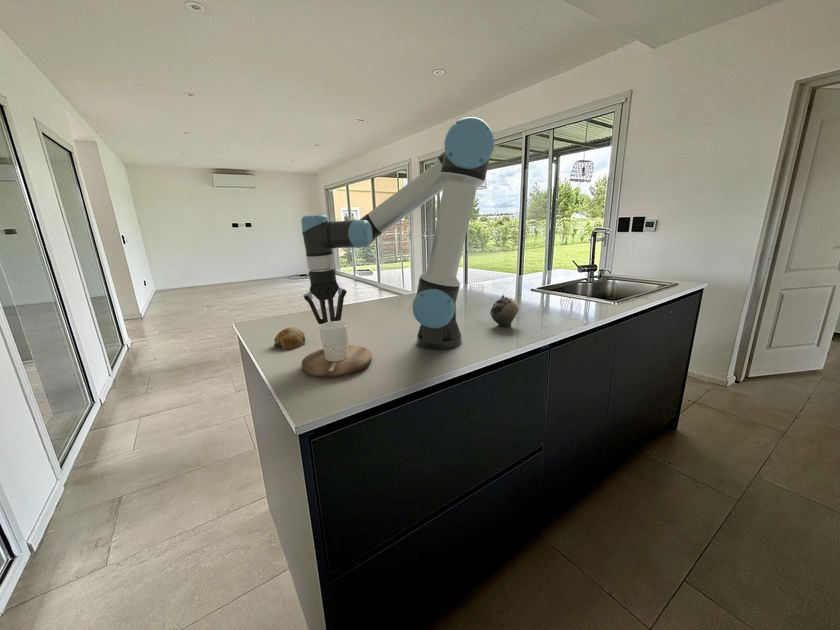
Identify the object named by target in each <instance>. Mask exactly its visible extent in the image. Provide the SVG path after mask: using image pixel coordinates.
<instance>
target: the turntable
mask: <svg viewBox="0 0 840 630" xmlns="http://www.w3.org/2000/svg"><path fill="white" fill-rule="evenodd" d="M348 345H349V344H348ZM348 352H349V356H348V357H347V358H346V359H344V360H341V361H333V362H332V361H327V360H326V359H325V353H324V350H323V348H320V349H318V350H315V351H313V352H311V353H309V354H307V355H306V356H304V358H302V360H301V367H302V371H304V372H305V373H306V374H308V375H311V376H314V377H315V376H316V377H337V376H344V375H347V374H348V375H349V374H352V373H355V372H358V371H359V370H362V369H364V368H365V367H367V366H368V365H369V364H370V363H371V362H372V360H373V357H372V351H371V350H370V349H368V348H366V347H364V346H360V345H351V344H350V345H349V347H348Z"/></svg>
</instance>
